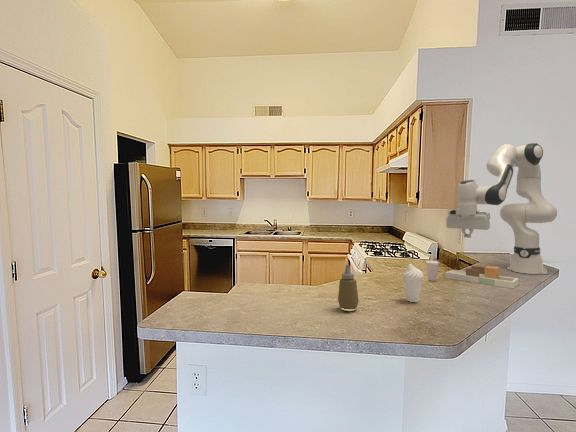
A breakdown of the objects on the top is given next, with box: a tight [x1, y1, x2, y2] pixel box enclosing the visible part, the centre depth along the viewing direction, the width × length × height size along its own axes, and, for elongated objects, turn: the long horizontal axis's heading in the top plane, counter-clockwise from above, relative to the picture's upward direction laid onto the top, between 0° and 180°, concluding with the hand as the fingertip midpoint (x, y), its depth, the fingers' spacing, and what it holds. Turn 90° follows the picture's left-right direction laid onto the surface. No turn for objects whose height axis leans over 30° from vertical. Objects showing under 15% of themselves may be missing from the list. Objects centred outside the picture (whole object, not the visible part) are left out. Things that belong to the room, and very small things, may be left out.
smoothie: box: [425, 253, 440, 282], centre depth 165 cm, size 6×6×14 cm
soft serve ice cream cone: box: [401, 263, 424, 303], centre depth 131 cm, size 8×8×16 cm
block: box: [485, 265, 500, 279], centre depth 156 cm, size 5×5×5 cm
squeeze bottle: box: [337, 263, 359, 309], centre depth 123 cm, size 8×8×18 cm
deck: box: [444, 265, 520, 289], centre depth 161 cm, size 10×30×6 cm, turn 42°
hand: (467, 237), depth 164 cm, fingers closed
